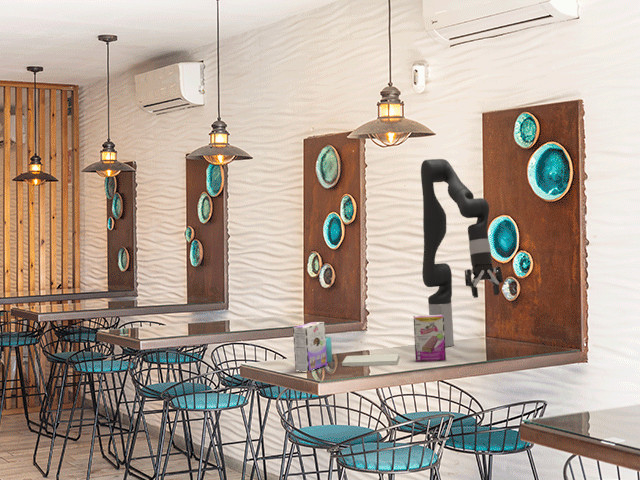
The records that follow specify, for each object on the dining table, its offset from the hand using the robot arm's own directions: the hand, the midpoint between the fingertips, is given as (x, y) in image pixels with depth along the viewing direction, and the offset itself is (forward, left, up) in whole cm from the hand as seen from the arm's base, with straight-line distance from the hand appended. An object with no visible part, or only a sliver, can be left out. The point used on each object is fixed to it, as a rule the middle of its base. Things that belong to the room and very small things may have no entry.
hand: (486, 296), depth 300 cm
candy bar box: (+1, -21, -23) cm, 31 cm away
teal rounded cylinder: (-5, -62, -22) cm, 66 cm away
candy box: (+10, -64, -23) cm, 69 cm away
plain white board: (+1, -43, -22) cm, 49 cm away
